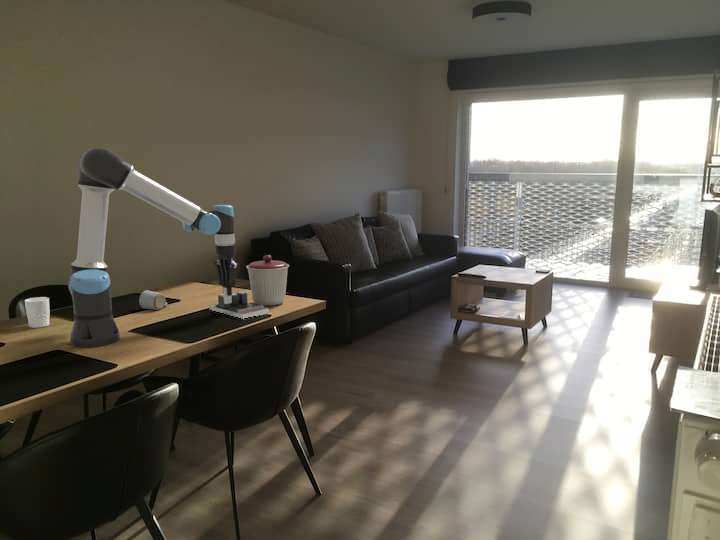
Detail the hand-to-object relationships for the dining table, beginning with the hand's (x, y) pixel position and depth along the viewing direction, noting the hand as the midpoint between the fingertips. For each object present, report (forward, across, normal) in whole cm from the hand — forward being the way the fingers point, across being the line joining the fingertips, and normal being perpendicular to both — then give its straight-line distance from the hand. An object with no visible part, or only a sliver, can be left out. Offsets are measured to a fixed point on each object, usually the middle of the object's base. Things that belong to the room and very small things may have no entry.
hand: (227, 303), depth 227 cm
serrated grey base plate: (+4, -1, -4) cm, 6 cm away
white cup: (+5, +39, +56) cm, 69 cm away
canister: (+5, +2, -22) cm, 23 cm away
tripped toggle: (+2, +3, 0) cm, 3 cm away
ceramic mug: (+5, +31, +14) cm, 35 cm away
